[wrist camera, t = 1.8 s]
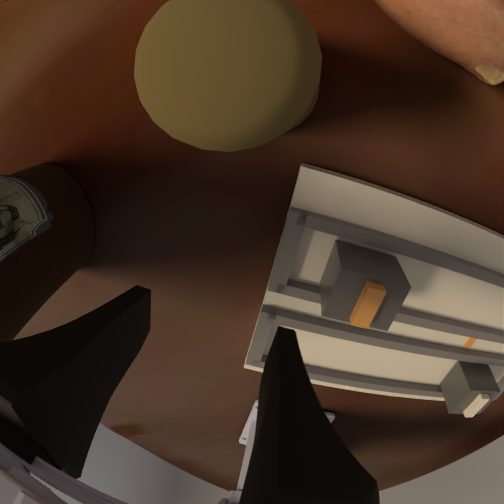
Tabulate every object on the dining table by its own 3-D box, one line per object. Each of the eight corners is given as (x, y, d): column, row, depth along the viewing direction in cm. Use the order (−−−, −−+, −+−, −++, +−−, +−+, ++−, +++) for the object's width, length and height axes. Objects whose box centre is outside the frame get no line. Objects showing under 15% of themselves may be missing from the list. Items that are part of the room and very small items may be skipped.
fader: (469, 386, 22) (481, 419, 18) (439, 383, 22) (450, 419, 18) (488, 364, 20) (502, 397, 17) (458, 360, 20) (472, 396, 17)
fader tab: (377, 296, 19) (389, 337, 15) (319, 282, 19) (321, 323, 16) (396, 256, 18) (414, 293, 14) (335, 239, 18) (342, 274, 14)
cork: (316, 33, 14) (330, -59, 4) (322, 134, 16) (349, 177, 7) (209, 41, 15) (97, -15, 5) (217, 138, 18) (113, 187, 8)
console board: (482, 394, 24) (487, 408, 22) (246, 357, 25) (242, 374, 23) (567, 268, 16) (579, 280, 15) (301, 162, 17) (301, 169, 16)
